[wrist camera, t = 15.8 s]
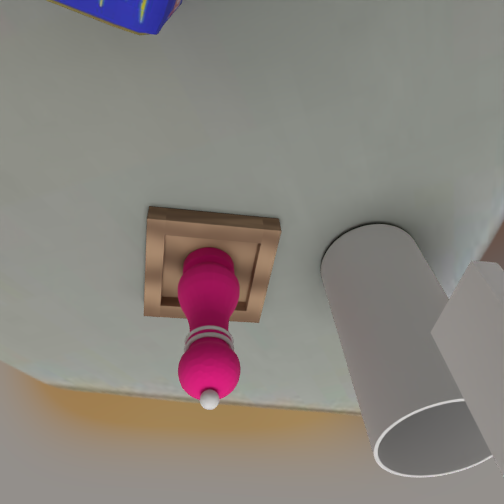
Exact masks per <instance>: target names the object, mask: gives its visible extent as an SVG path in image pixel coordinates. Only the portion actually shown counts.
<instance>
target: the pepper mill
mask: <svg viewBox="0 0 504 504" xmlns="http://www.w3.org/2000/svg"><path fill="white" fill-rule="evenodd" d="M239 295H240V286H239V281H238V279H237V277H236V276H235V274H234V263H233V261H232V259H231V257H230V256H229V255H228V254H227V253H226V252H224V251H222V250H220V249H217V248H212V247H205V248H200V249H197V250H195V251H193V252H192V253H190V254H189V255H188V256H187V257H186V259H185V261H184V264H183V275H182V276H181V278H180V280H179V283H178V300H179V303H180V306H181V309H182V310H183V312H184V314H185V316H186V317H187V319H188V322H189V326H190V333H189V334H188V335H187V336H186V339H185V348H184V352H185V353H184V354H183V356H182V357H181V360H180V362H179V367H178V376H179V381H180V383H181V386H182V388H183V389H184V390H185V391H186V392H187V393H188V394H189V395H190V396H192V397H193V398H196V399H199V400H200V404H201V405H202V407H204V408H205V409H208V410H210V409H214V408H215V407H216V406H217V405H218V403H219V399H221V398H224V397H225V396H227V395H228V394H230V393H231V392H232V391H233V390H234V388H235V387H236V385H237V383H238V380H239V376H240V363H239V359H238V357H237V355H236V354H235V352H234V345H233V343H234V341H233V337H232V335H231V334H230V333H229V332H228V324H229V319H230V316H231V315H232V313H233V312H234V310H235V308H236V306H237V303H238V300H239Z"/></svg>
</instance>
